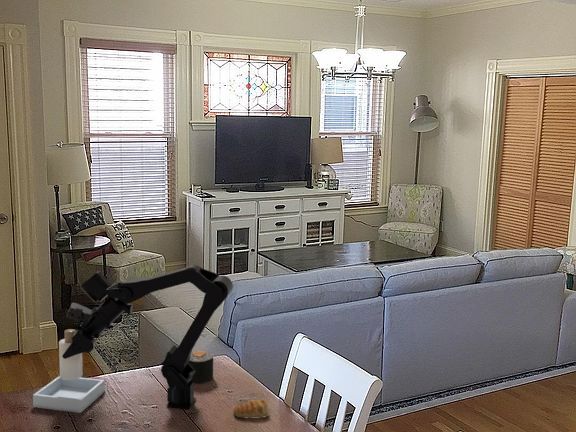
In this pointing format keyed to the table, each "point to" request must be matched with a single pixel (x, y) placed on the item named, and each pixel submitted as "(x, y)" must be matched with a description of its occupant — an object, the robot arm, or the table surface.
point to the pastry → (252, 409)
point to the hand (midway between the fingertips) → (65, 353)
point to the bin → (69, 394)
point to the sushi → (202, 366)
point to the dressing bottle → (69, 359)
